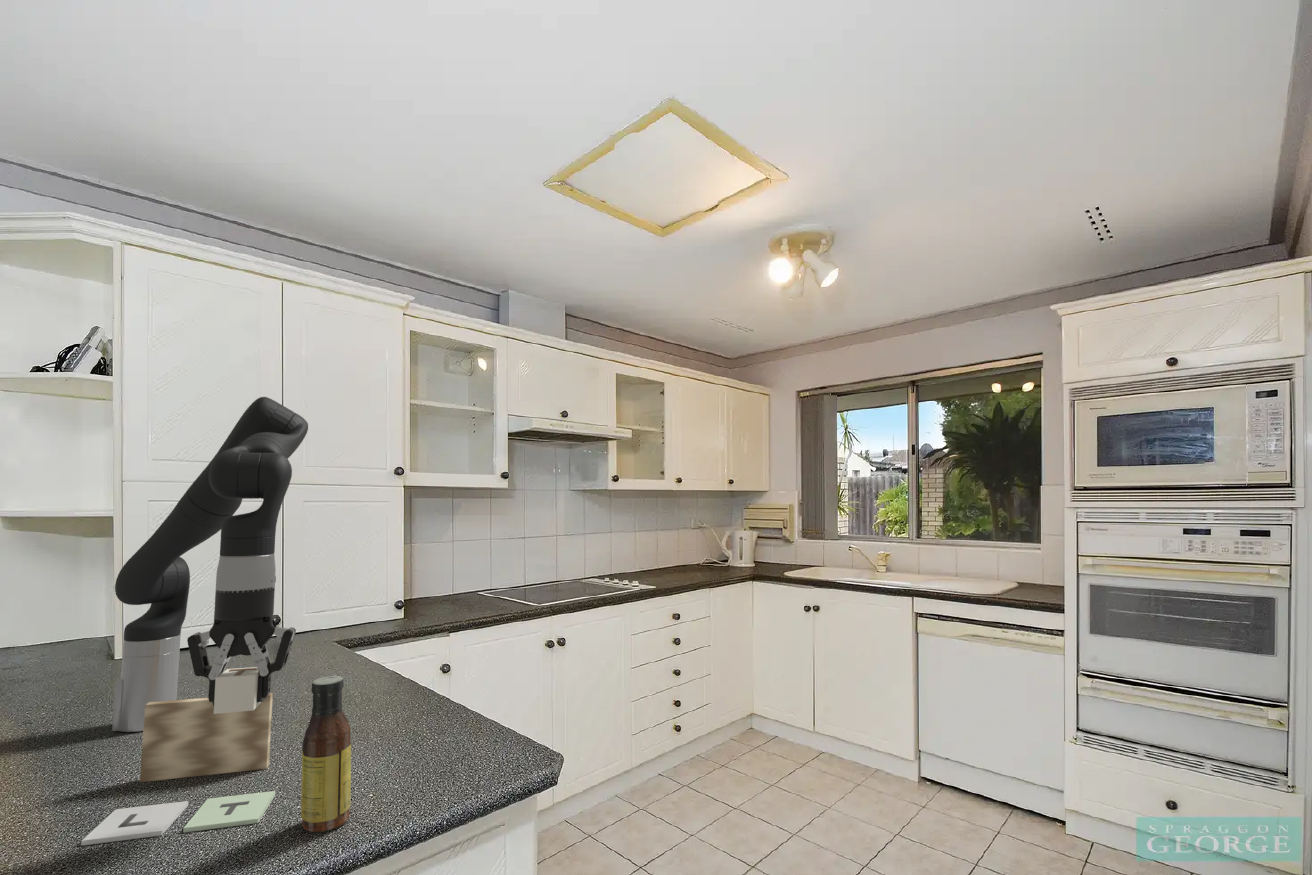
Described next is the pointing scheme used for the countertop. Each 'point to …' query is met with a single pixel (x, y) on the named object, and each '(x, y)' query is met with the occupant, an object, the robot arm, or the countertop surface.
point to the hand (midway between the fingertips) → (239, 701)
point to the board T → (230, 811)
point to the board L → (135, 823)
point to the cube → (236, 690)
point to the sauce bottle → (326, 760)
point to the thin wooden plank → (203, 739)
